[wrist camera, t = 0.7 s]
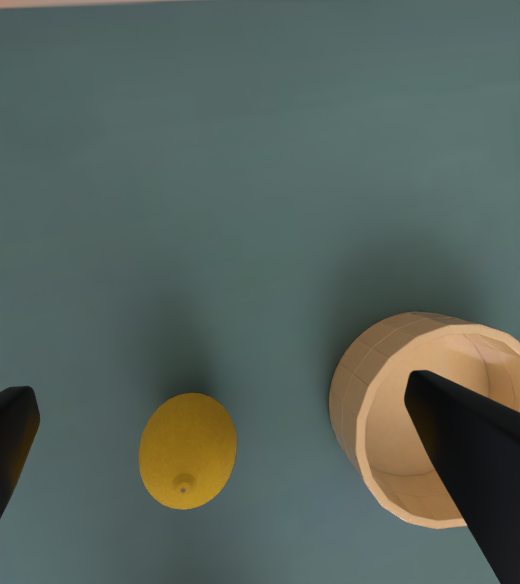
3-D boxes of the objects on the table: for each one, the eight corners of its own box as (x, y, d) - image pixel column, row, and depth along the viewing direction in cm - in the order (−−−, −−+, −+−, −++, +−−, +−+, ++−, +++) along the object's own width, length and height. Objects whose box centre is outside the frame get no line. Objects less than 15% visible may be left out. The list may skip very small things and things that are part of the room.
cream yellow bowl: (423, 507, 27) (469, 563, 23) (293, 422, 25) (312, 462, 20) (521, 373, 27) (588, 399, 22) (399, 276, 25) (445, 280, 20)
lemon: (147, 382, 24) (113, 446, 16) (227, 370, 24) (234, 425, 16) (159, 458, 24) (132, 555, 16) (237, 443, 25) (248, 531, 17)
